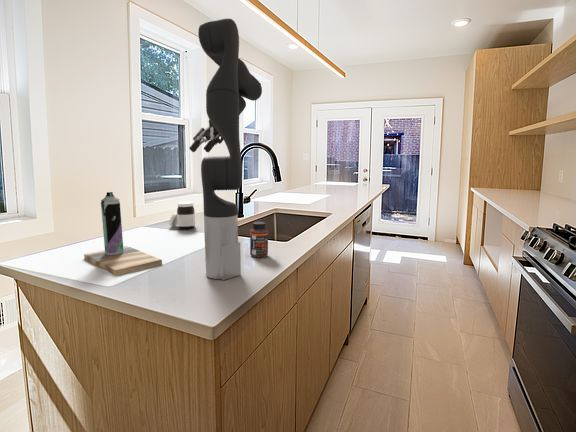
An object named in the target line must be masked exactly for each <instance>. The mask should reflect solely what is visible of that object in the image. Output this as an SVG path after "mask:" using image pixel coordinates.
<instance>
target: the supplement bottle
mask: <svg viewBox="0 0 576 432" xmlns="http://www.w3.org/2000/svg"><path fill="white" fill-rule="evenodd" d="M249 240H250V241H249V249H250V250H249V251H250V257H253V258H257V259H259V258H260V259H261V258H265V257H267V256H268V255H269V253H268V252H269V231H268V229H267V228H266V222H264V221H254V222H252V228H251V229H250V231H249Z"/></svg>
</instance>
